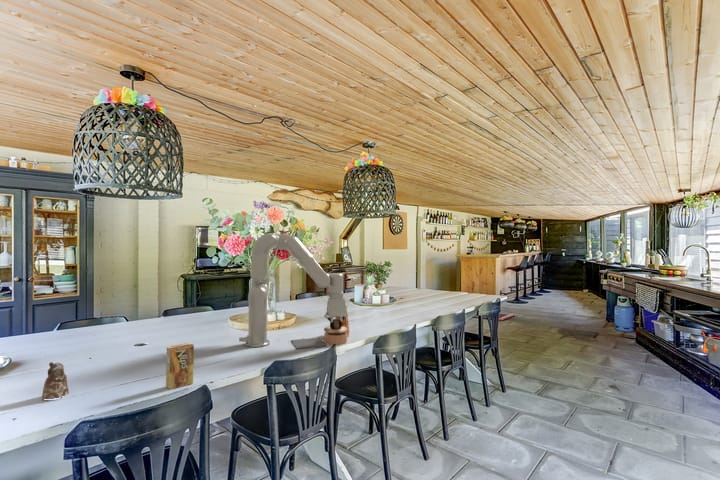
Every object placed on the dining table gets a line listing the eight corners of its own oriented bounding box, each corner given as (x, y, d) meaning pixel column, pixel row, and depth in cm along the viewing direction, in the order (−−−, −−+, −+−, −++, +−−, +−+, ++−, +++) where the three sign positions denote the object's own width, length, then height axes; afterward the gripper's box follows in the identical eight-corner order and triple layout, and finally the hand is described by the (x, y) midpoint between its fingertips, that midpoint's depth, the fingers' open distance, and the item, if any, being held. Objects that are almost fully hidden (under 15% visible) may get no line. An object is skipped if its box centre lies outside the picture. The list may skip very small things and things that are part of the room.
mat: (297, 349, 192) (297, 348, 192) (291, 341, 207) (291, 340, 207) (327, 346, 198) (327, 345, 198) (319, 338, 213) (319, 337, 213)
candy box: (189, 380, 149) (189, 342, 149) (193, 383, 146) (194, 344, 146) (165, 386, 142) (166, 346, 142) (169, 390, 140) (170, 349, 139)
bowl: (328, 345, 199) (328, 336, 199) (322, 339, 210) (322, 331, 210) (349, 343, 204) (349, 334, 204) (342, 338, 215) (342, 329, 215)
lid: (327, 334, 198) (328, 323, 198) (321, 328, 210) (321, 318, 210) (350, 332, 203) (351, 321, 203) (343, 326, 215) (343, 316, 215)
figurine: (50, 402, 128) (50, 367, 128) (37, 399, 130) (37, 364, 130) (72, 394, 134) (73, 361, 134) (60, 391, 137) (60, 358, 137)
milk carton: (348, 336, 218) (349, 302, 218) (332, 336, 218) (333, 302, 218) (349, 332, 227) (350, 299, 227) (334, 332, 228) (334, 299, 227)
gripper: (323, 297, 200) (323, 331, 200) (352, 296, 206) (352, 329, 206) (320, 295, 207) (319, 328, 207) (348, 294, 213) (347, 326, 213)
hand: (335, 328), depth 207 cm, fingers closed on lid, 3 cm apart
